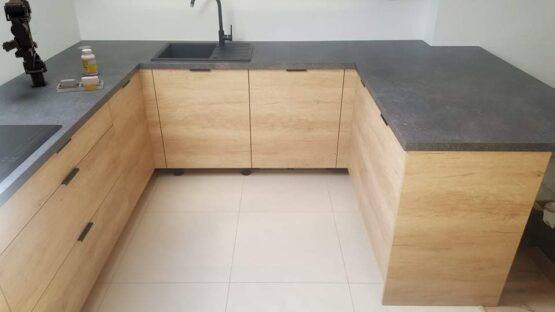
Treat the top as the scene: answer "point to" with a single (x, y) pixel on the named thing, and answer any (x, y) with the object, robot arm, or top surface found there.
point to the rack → (80, 87)
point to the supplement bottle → (89, 62)
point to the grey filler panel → (68, 83)
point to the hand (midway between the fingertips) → (31, 68)
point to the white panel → (90, 80)
